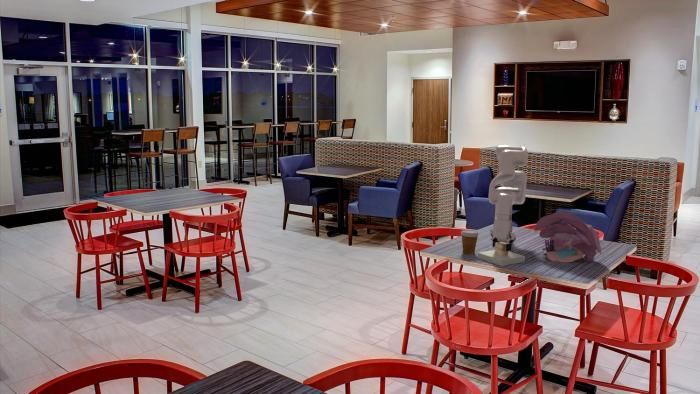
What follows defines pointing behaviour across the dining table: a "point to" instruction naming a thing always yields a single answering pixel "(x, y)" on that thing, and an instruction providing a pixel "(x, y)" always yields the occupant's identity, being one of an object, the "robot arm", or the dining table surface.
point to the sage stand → (501, 258)
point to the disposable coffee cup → (469, 241)
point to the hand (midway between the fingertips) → (501, 248)
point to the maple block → (501, 248)
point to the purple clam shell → (568, 237)
